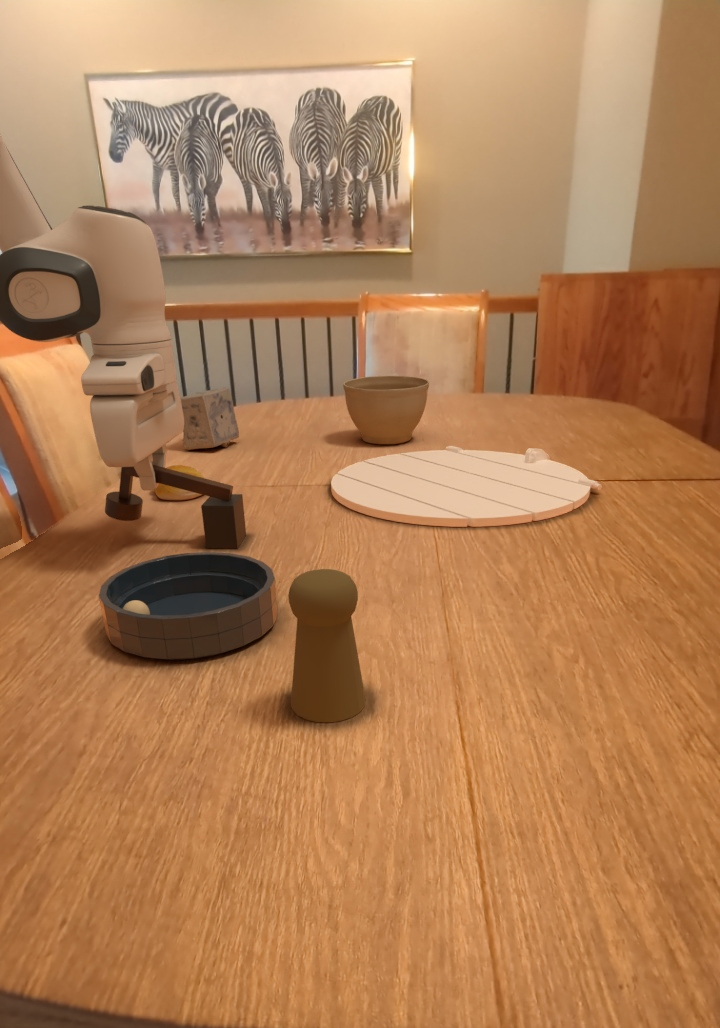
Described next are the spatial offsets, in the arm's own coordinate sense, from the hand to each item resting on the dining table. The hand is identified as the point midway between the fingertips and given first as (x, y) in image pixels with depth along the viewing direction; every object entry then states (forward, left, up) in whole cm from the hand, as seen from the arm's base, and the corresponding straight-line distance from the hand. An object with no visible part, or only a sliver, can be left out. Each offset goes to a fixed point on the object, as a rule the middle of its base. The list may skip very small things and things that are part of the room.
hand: (154, 485), depth 93 cm
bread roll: (-4, +22, -8) cm, 24 cm away
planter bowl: (+26, +59, -8) cm, 65 cm away
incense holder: (-8, +54, -8) cm, 55 cm away
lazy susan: (+39, +26, -7) cm, 47 cm away
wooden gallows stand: (+1, 0, -5) cm, 5 cm away
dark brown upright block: (+8, 0, -7) cm, 11 cm away
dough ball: (+6, -26, -6) cm, 27 cm away
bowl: (+11, -24, -7) cm, 27 cm away
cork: (+26, -38, -8) cm, 47 cm away
